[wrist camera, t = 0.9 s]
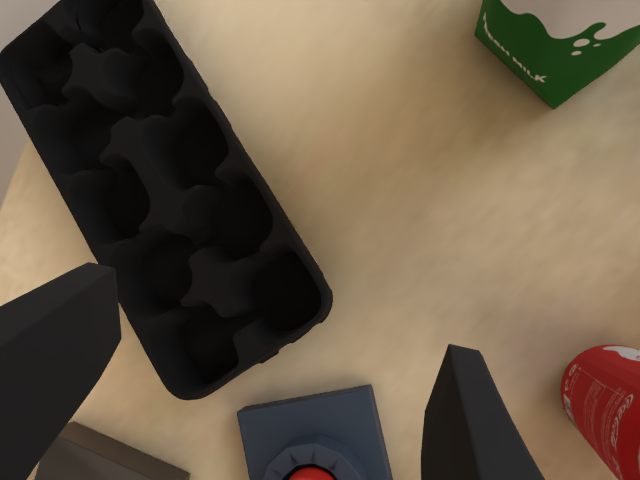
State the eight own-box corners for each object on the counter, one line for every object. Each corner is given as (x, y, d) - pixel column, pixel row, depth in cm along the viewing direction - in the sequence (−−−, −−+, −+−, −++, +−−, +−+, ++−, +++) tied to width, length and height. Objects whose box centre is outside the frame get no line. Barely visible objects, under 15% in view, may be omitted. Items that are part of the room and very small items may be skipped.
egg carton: (227, 422, 37) (202, 439, 34) (-18, 132, 43) (-61, 120, 40) (409, 240, 35) (404, 237, 31) (124, -40, 41) (92, -70, 37)
